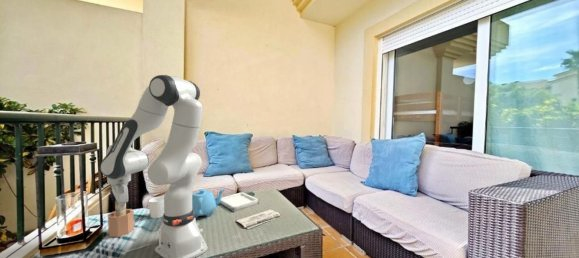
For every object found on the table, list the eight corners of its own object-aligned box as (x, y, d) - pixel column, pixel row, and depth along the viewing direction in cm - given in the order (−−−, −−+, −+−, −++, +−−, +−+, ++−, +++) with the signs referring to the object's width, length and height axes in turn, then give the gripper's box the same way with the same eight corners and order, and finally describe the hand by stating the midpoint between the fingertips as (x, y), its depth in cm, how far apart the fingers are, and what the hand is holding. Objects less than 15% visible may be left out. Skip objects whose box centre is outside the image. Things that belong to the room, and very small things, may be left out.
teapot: (179, 215, 126) (178, 191, 125) (209, 204, 141) (209, 182, 140) (195, 224, 116) (194, 197, 115) (226, 211, 132) (226, 187, 131)
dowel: (127, 231, 106) (126, 200, 105) (116, 234, 103) (115, 202, 102) (126, 228, 109) (124, 198, 108) (115, 231, 106) (114, 200, 105)
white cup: (168, 214, 127) (168, 197, 127) (159, 220, 119) (158, 202, 119) (155, 213, 128) (155, 196, 127) (145, 220, 120) (145, 201, 120)
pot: (135, 233, 106) (134, 213, 106) (110, 241, 100) (109, 219, 99) (131, 226, 113) (130, 207, 112) (108, 233, 106) (107, 212, 106)
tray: (259, 203, 143) (259, 199, 143) (234, 211, 131) (234, 207, 131) (242, 195, 158) (242, 192, 158) (218, 202, 145) (218, 198, 145)
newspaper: (246, 231, 110) (246, 226, 110) (235, 224, 119) (235, 220, 119) (283, 218, 124) (283, 213, 124) (270, 212, 133) (270, 208, 133)
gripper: (131, 181, 99) (132, 212, 100) (124, 173, 114) (125, 199, 115) (113, 184, 95) (115, 216, 96) (108, 175, 110) (109, 202, 111)
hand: (120, 207), depth 106 cm, fingers open, 7 cm apart
